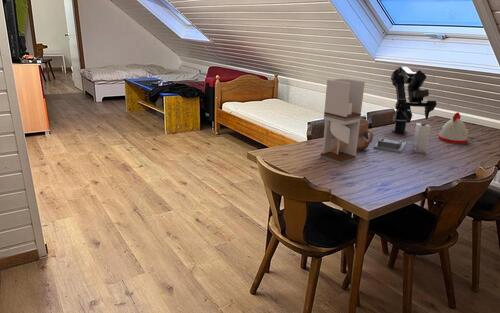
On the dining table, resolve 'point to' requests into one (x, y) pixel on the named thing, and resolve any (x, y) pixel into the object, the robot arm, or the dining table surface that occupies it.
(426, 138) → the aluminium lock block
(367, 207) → the dining table surface
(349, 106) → the display case
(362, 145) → the ceramic jug
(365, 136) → the door stopper
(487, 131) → the dining table surface
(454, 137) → the cream and red dome
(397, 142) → the coupler cradle
